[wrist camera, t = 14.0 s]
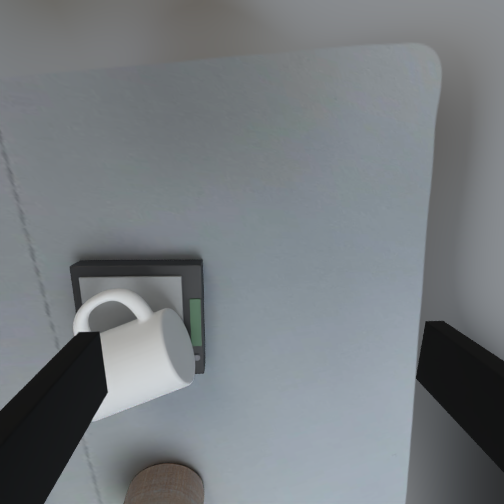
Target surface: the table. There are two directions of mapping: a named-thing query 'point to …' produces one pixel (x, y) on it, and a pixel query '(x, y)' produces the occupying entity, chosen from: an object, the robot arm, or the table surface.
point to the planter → (166, 486)
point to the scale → (145, 293)
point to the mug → (140, 352)
